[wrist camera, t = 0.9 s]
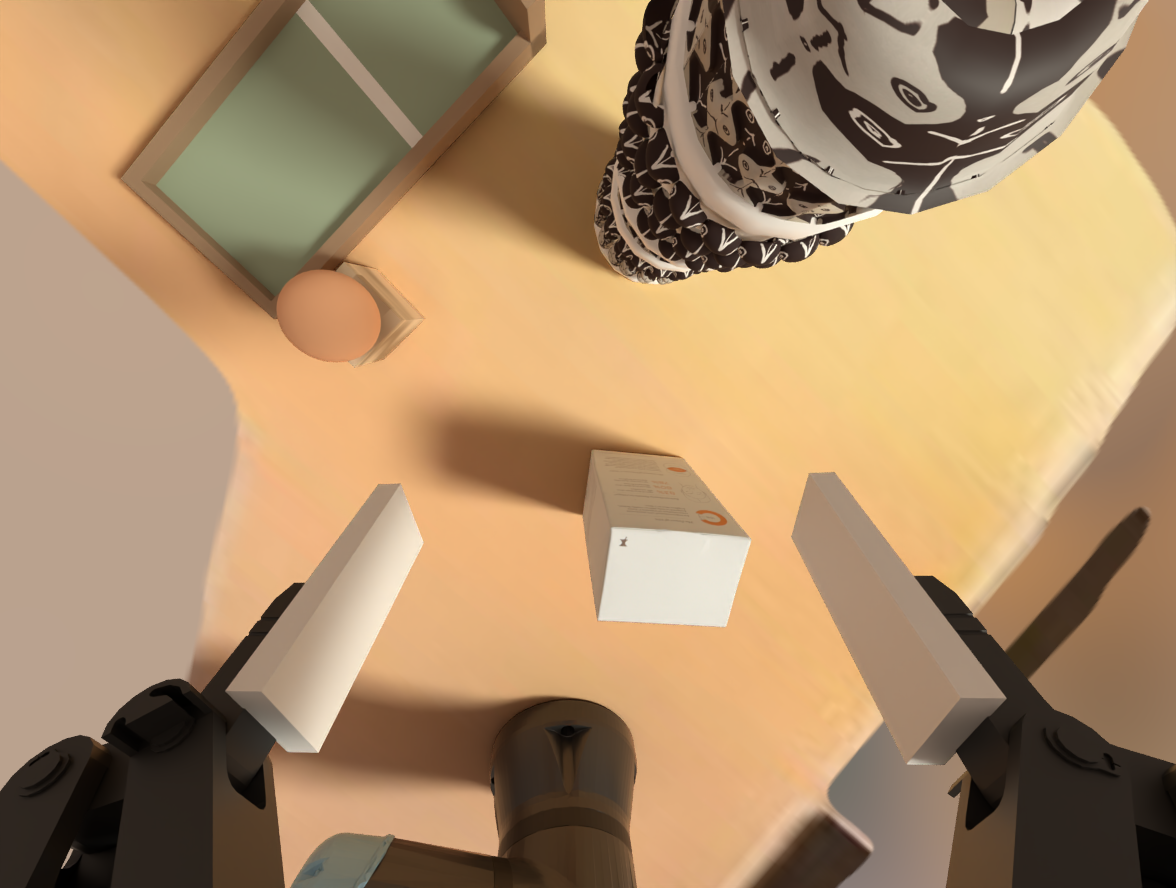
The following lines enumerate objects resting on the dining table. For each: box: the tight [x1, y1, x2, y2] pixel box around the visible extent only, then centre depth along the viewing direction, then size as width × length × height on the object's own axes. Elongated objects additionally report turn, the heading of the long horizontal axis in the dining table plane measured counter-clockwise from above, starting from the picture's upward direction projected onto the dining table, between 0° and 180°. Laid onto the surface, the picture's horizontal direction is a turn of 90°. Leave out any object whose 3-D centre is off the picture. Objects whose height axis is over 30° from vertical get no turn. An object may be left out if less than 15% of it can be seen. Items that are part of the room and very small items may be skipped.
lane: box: [121, 0, 546, 319], centre depth 24 cm, size 25×11×4 cm, turn 131°
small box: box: [583, 450, 751, 627], centre depth 30 cm, size 8×6×13 cm
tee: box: [335, 262, 425, 368], centre depth 28 cm, size 4×4×5 cm
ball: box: [276, 270, 381, 362], centre depth 24 cm, size 5×5×5 cm
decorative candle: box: [594, 0, 1148, 284], centre depth 18 cm, size 9×9×25 cm
